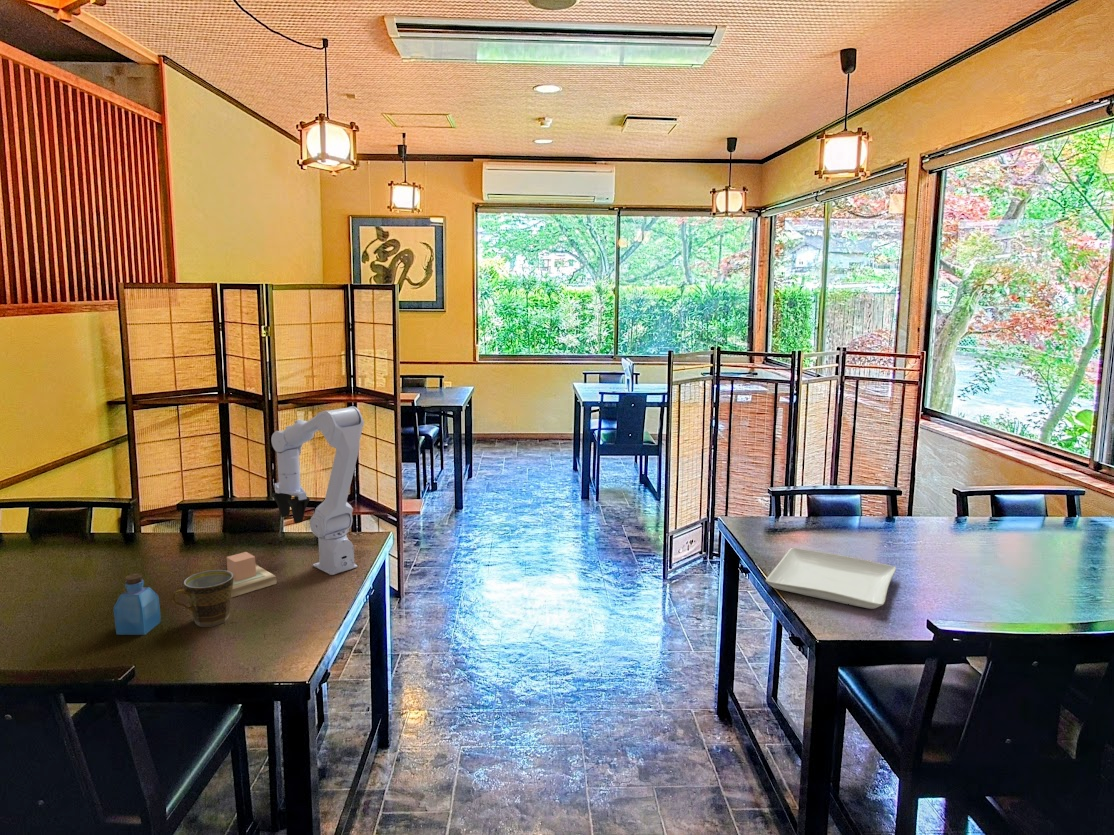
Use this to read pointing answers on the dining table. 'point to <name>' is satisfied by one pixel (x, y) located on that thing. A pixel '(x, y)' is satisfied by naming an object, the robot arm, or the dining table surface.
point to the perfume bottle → (136, 608)
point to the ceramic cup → (208, 596)
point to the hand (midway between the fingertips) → (291, 519)
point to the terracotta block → (241, 566)
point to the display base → (253, 582)
